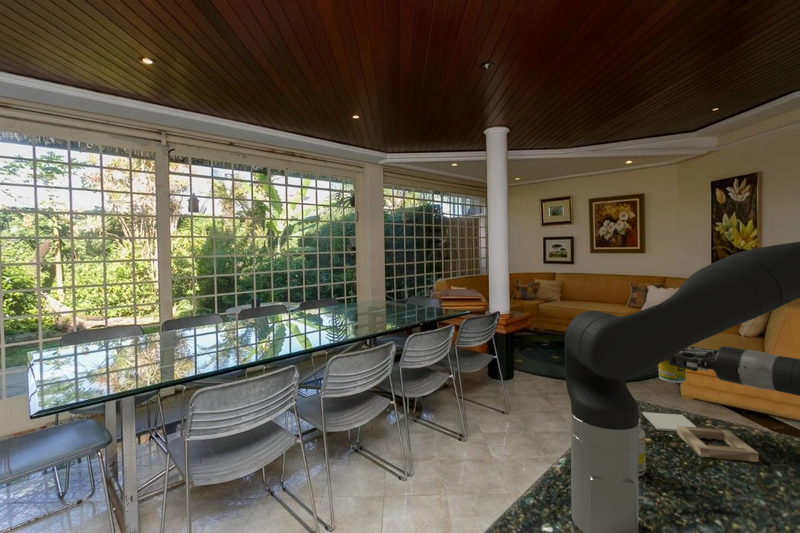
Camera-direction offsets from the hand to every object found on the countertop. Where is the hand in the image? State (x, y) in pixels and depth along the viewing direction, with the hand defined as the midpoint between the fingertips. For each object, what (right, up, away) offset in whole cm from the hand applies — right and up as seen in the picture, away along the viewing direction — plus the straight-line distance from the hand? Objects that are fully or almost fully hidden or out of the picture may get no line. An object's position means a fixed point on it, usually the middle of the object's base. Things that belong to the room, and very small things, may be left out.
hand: (660, 351), depth 93 cm
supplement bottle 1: (-21, -19, -20) cm, 34 cm away
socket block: (+3, -18, -13) cm, 22 cm away
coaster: (+1, -17, -1) cm, 18 cm away
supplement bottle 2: (+1, -7, -2) cm, 7 cm away
